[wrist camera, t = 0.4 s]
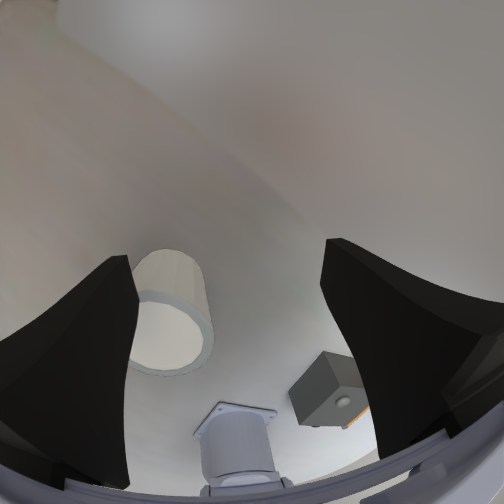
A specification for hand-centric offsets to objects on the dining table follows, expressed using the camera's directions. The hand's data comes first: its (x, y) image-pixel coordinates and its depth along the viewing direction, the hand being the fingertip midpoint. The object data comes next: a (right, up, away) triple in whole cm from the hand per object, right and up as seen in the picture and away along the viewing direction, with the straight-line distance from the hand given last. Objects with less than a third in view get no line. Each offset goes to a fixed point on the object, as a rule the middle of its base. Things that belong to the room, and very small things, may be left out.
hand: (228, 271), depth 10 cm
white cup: (-6, -2, +12) cm, 13 cm away
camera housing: (+10, -14, +19) cm, 26 cm away
